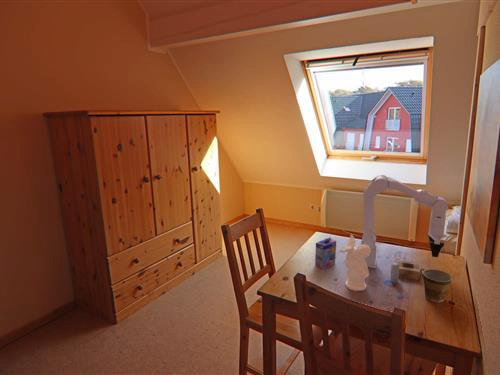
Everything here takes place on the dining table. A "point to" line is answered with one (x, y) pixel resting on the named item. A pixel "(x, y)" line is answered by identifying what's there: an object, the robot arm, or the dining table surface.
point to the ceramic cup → (436, 284)
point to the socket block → (409, 269)
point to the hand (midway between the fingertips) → (434, 253)
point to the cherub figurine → (356, 265)
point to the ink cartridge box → (325, 253)
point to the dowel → (394, 272)
